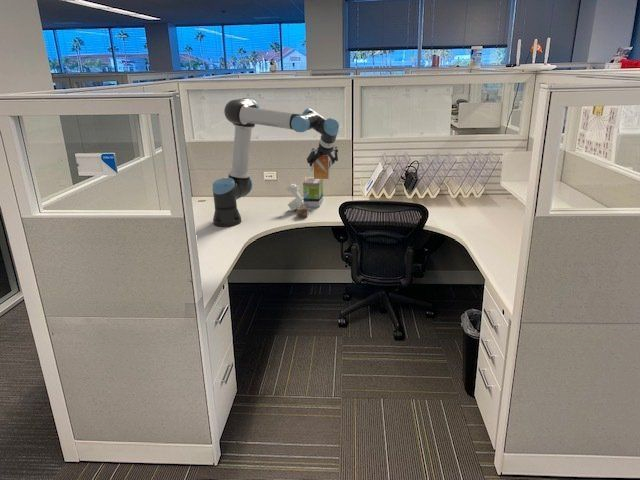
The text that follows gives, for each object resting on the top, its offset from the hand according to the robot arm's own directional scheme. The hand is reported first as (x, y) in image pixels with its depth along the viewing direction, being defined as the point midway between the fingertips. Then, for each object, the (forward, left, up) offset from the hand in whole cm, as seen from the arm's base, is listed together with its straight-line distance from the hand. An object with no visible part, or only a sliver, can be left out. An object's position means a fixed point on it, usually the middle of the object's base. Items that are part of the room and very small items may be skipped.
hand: (320, 167), depth 259 cm
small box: (0, -3, -5) cm, 6 cm away
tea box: (0, +20, -26) cm, 33 cm away
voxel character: (-13, +10, -26) cm, 31 cm away
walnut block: (-12, -3, -26) cm, 29 cm away
